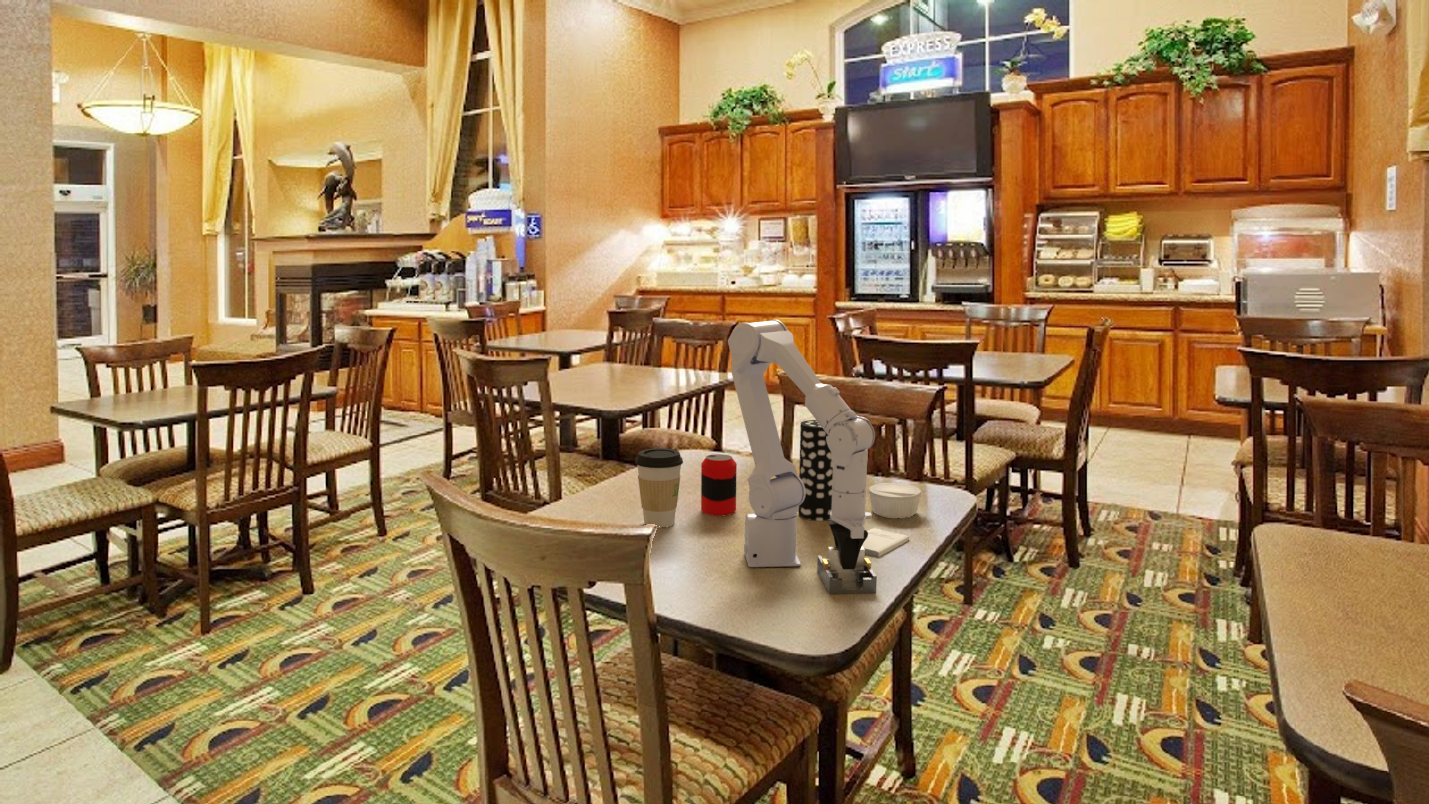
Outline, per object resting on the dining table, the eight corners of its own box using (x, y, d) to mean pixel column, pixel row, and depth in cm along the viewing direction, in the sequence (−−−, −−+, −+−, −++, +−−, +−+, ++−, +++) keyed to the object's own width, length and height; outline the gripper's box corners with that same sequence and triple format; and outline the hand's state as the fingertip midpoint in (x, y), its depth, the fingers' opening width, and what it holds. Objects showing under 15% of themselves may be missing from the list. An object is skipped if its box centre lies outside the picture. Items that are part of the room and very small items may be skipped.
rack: (829, 594, 152) (829, 572, 152) (817, 571, 163) (817, 551, 162) (876, 592, 153) (877, 571, 152) (861, 570, 163) (862, 550, 163)
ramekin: (879, 522, 192) (880, 497, 191) (860, 506, 202) (861, 483, 201) (929, 519, 194) (930, 495, 193) (907, 504, 205) (908, 481, 204)
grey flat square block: (829, 580, 157) (830, 550, 156) (827, 577, 158) (828, 547, 157) (863, 580, 157) (864, 549, 156) (861, 576, 159) (862, 546, 158)
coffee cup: (692, 521, 191) (692, 451, 188) (664, 534, 182) (664, 461, 180) (654, 513, 196) (654, 445, 193) (625, 525, 188) (625, 454, 185)
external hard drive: (840, 550, 176) (872, 534, 185) (878, 560, 171) (909, 543, 180) (840, 542, 175) (872, 526, 185) (878, 551, 170) (909, 535, 180)
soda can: (714, 504, 203) (714, 451, 201) (742, 510, 199) (743, 456, 197) (694, 512, 197) (694, 458, 195) (723, 518, 193) (723, 463, 191)
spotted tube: (839, 521, 192) (842, 428, 188) (799, 520, 192) (802, 427, 188) (834, 509, 200) (837, 420, 196) (796, 509, 200) (798, 419, 196)
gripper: (883, 500, 148) (879, 580, 151) (862, 477, 162) (859, 550, 165) (840, 501, 148) (837, 581, 150) (822, 478, 162) (820, 551, 164)
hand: (846, 565), depth 157 cm, fingers open, 3 cm apart
